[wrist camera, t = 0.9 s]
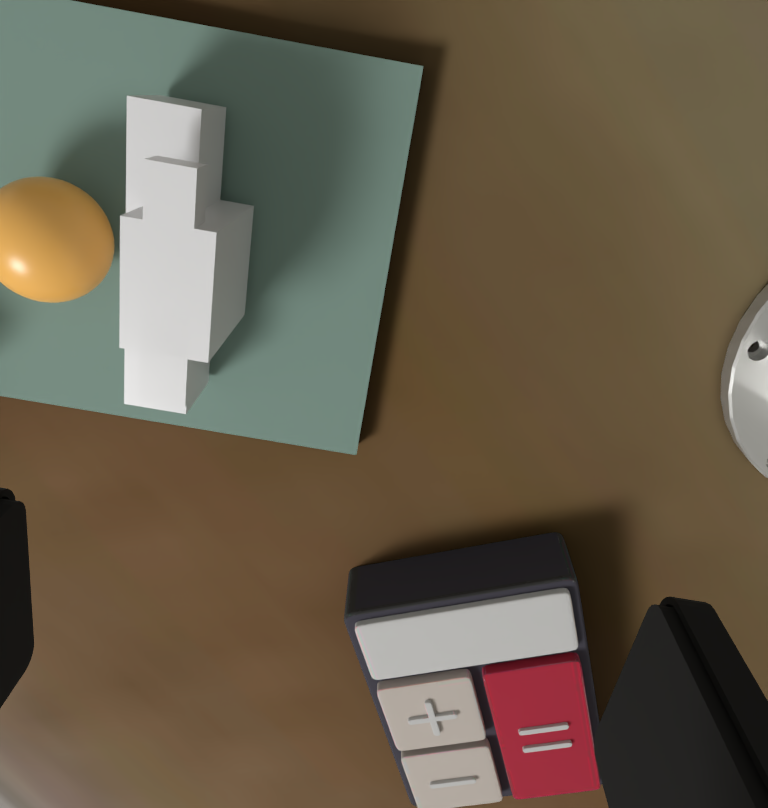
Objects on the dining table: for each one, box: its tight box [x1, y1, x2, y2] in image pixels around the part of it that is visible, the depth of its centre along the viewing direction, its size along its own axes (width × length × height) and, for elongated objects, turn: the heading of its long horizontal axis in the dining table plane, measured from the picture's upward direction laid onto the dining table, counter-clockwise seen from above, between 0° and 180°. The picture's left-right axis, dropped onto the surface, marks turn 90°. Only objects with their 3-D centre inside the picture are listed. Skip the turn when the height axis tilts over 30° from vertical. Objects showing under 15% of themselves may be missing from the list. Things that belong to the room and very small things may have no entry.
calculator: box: [344, 532, 602, 808], centre depth 36 cm, size 11×4×15 cm
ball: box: [0, 176, 114, 303], centre depth 25 cm, size 4×4×4 cm
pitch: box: [0, 0, 423, 455], centre depth 28 cm, size 24×16×1 cm, turn 80°
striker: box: [119, 95, 254, 414], centre depth 25 cm, size 4×11×6 cm, turn 171°
